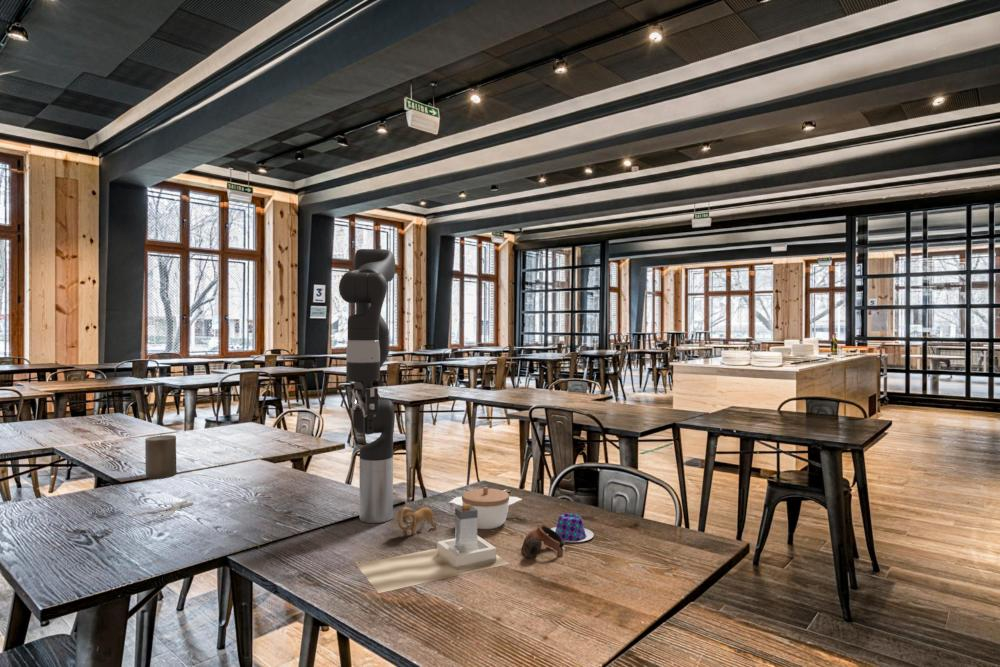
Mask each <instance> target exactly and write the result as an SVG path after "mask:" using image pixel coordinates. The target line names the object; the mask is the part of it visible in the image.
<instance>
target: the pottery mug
mask: <svg viewBox="0 0 1000 667" xmlns="http://www.w3.org/2000/svg"><path fill="white" fill-rule="evenodd" d="M564 541H565V540H564V539H562V538H561V537H560V536H559V535H558V534H557V533H556V532H554V531H553V530H551V528H550V527H548V526H545V525H540V524H539V525H538V526H537V528H536V529H533V530H531V531H529V533H527V535H526V536H525V538H524V540H523V543H522V546H521V549H520V550H521V553H522V554H523V555H524V556H525V557H526V558H527V559H528V558H529V559H536V558H537V555H538V554H539V551H540V550H541V548H542V545H545V546H547V547H548V548H551V549H552V550H554V551H557V554H556V557H557V558H559V557H562V556H564V549H563V548H564V545H565V544H566V542H564Z"/></svg>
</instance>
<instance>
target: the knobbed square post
mask: <svg viewBox="0 0 1000 667" xmlns="http://www.w3.org/2000/svg"><path fill="white" fill-rule="evenodd" d="M461 505H462V504H461ZM454 515H455V516H454V520H455V521H454V522H455V523H454V525H455V528H454V530H455V531H454V538H455V545H453V550H454V551H456V552H457V553H458V554H459V553H464V552H469V551H474V550H479V548H478V547H477V535H478V528H477V517H478V510H476V509H475V508H474V507H473V506H470V504H463V505H462V506H458V507H457V506H456V507H455V508H454Z"/></svg>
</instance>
